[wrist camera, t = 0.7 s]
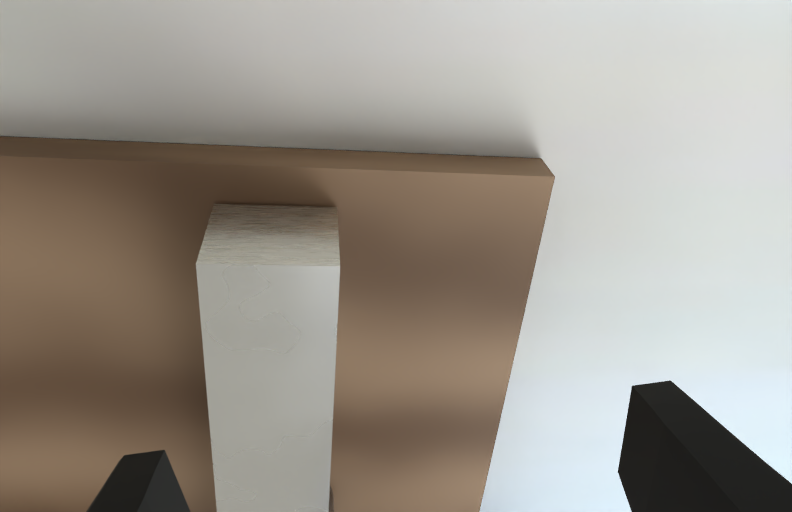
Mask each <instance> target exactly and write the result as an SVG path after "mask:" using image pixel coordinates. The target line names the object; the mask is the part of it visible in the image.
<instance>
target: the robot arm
mask: <svg viewBox="0 0 792 512" xmlns="http://www.w3.org/2000/svg"><path fill="white" fill-rule="evenodd" d="M618 473H619V476H620V479H621V482H622V485H623V488H624V491H625V494H626V496H627V499H628V502H629V505H630V508H631V510H632V512H792V484H791V483H790V482H789V481H788V480H786V479H785V478H784V477H783V476H781V475H780V474H779V473H778V472H777V471H775V470H774V469H773V468H772V467H770V466H769V465H768V464H767V463H766V462H764V461H763V460H762V459H761V458H760V457H759V456H757V455H756V454H755V453H754V452H753V451H751V450H750V449H749V448H748V447H747V446H746V445H744V444H743V443H742V442H741V441H740V440H739V439H737V438H736V437H735V436H734V435H733V434H732V433H730V432H729V431H728V430H727V429H726V428H725V427H724V426H722V425H721V424H720V423H719V422H718V421H717V420H715V419H714V418H713V417H712V416H711V415H710V414H709V413H707V412H706V411H705V410H704V409H703V408H702V407H701V406H699V405H698V404H697V403H696V402H695V401H694V400H693V399H691V398H690V397H689V396H688V395H687V394H686V393H684V392H683V391H682V390H681V389H680V388H679V387H677V386H676V385H675V384H674V383H673V382H671V381H664V382H657V383H650V384H642V385H635V386H632V390H631V396H630V402H629V408H628V414H627V420H626V426H625V432H624V438H623V444H622V450H621V456H620V462H619V468H618ZM86 512H190V509H189V507H188V504H187V502H186V500H185V497H184V495H183V492H182V490H181V488H180V485H179V483H178V480H177V478H176V476H175V473H174V471H173V468H172V466H171V463H170V461H169V459H168V456H167V454H166V451H165V450H158V451H151V452H144V453H136V454H129V455H124V456H123V457H122V458H121V459H120V461H119V462H118V463H117V465H116V466H115V468H114V470H113V471H112V473H111V474H110V476H109V477H108V479H107V480H106V482H105V483H104V485H103V486H102V488H101V490H100V491H99V493H98V494H97V496H96V497H95V499H94V500H93V502H92V504H91V505H90V507H89V508H88V510H87V511H86Z"/></svg>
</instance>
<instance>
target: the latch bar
mask: <svg viewBox="0 0 792 512" xmlns="http://www.w3.org/2000/svg"><path fill="white" fill-rule="evenodd" d="M196 271H197V283H198V295H199V307H200V319H201V330H202V342H203V354H204V366H205V378H206V389H207V401H208V413H209V425H210V437H211V448H212V460H213V472H214V484H215V496H216V508H217V512H334V496H333V491H332V488H331V486H330V470H331V449H332V428H333V407H334V386H335V365H336V344H337V323H338V302H339V281H340V253H339V233H338V214H337V207H312V206H279V205H245V204H214V206H213V209H212V212H211V216H210V219H209V222H208V226H207V229H206V232H205V235H204V239H203V242H202V245H201V249H200V252H199V255H198V258H197V262H196Z"/></svg>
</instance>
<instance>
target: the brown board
mask: <svg viewBox="0 0 792 512" xmlns="http://www.w3.org/2000/svg"><path fill="white" fill-rule="evenodd" d="M554 179H555V176H554V175H553V174H552V172H551V171H550V170H549V168H548V167H547V166H546V164H545V163H544V162H543V160H542V159H540V158H515V157H491V156H467V155H442V154H418V153H394V152H370V151H345V150H321V149H297V148H272V147H248V146H224V145H199V144H175V143H151V142H127V141H102V140H78V139H54V138H29V137H5V136H0V512H86V511H87V510H88V508H89V507H90V505H91V504H92V502H93V500H94V499H95V497H96V496H97V494H98V493H99V491H100V490H101V488H102V486H103V485H104V483H105V482H106V480H107V479H108V477H109V476H110V474H111V473H112V471H113V470H114V468H115V466H116V465H117V463H118V462H119V461H120V459H121V458H122V457H123V456H124V455H129V454H136V453H144V452H151V451H158V450H165V451H166V454H167V456H168V459H169V461H170V463H171V466H172V468H173V471H174V473H175V476H176V478H177V480H178V483H179V485H180V488H181V490H182V492H183V495H184V497H185V500H186V502H187V504H188V507H189V509H190V512H217V508H216V496H215V484H214V472H213V460H212V448H211V437H210V425H209V413H208V401H207V389H206V378H205V366H204V354H203V342H202V330H201V319H200V307H199V295H198V283H197V271H196V262H197V258H198V255H199V252H200V249H201V245H202V242H203V239H204V235H205V232H206V229H207V226H208V222H209V219H210V216H211V212H212V209H213V206H214V204H245V205H279V206H312V207H337V214H338V233H339V253H340V281H339V302H338V323H337V344H336V365H335V386H334V407H333V428H332V449H331V470H330V486H331V488H332V491H333V496H334V512H479V510H480V506H481V502H482V497H483V493H484V488H485V484H486V480H487V475H488V471H489V466H490V462H491V457H492V453H493V449H494V444H495V440H496V435H497V431H498V426H499V422H500V418H501V413H502V409H503V404H504V400H505V395H506V391H507V387H508V382H509V378H510V373H511V369H512V364H513V360H514V356H515V351H516V347H517V342H518V338H519V333H520V329H521V325H522V320H523V316H524V311H525V307H526V303H527V298H528V294H529V289H530V285H531V280H532V276H533V272H534V267H535V263H536V258H537V254H538V249H539V245H540V241H541V236H542V232H543V227H544V223H545V218H546V214H547V210H548V205H549V201H550V196H551V192H552V187H553V183H554Z"/></svg>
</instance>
